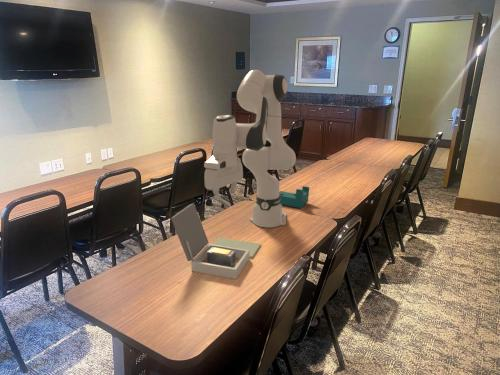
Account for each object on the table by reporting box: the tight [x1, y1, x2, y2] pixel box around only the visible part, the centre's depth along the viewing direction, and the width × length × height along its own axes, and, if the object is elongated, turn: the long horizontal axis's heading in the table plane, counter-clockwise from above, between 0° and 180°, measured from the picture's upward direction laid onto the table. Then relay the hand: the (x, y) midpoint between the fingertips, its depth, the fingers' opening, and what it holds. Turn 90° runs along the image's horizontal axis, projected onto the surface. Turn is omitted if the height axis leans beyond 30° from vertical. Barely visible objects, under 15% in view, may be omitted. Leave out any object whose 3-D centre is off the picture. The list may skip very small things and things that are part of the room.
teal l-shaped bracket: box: [279, 185, 310, 209], centre depth 207 cm, size 18×11×10 cm, turn 59°
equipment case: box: [186, 241, 250, 280], centre depth 139 cm, size 16×20×12 cm
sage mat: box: [212, 237, 262, 259], centre depth 154 cm, size 12×20×1 cm, turn 72°
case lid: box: [170, 202, 210, 262], centre depth 140 cm, size 16×18×2 cm
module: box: [206, 247, 236, 268], centre depth 139 cm, size 4×10×6 cm, turn 70°
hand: (225, 196), depth 134 cm, fingers open, 8 cm apart
